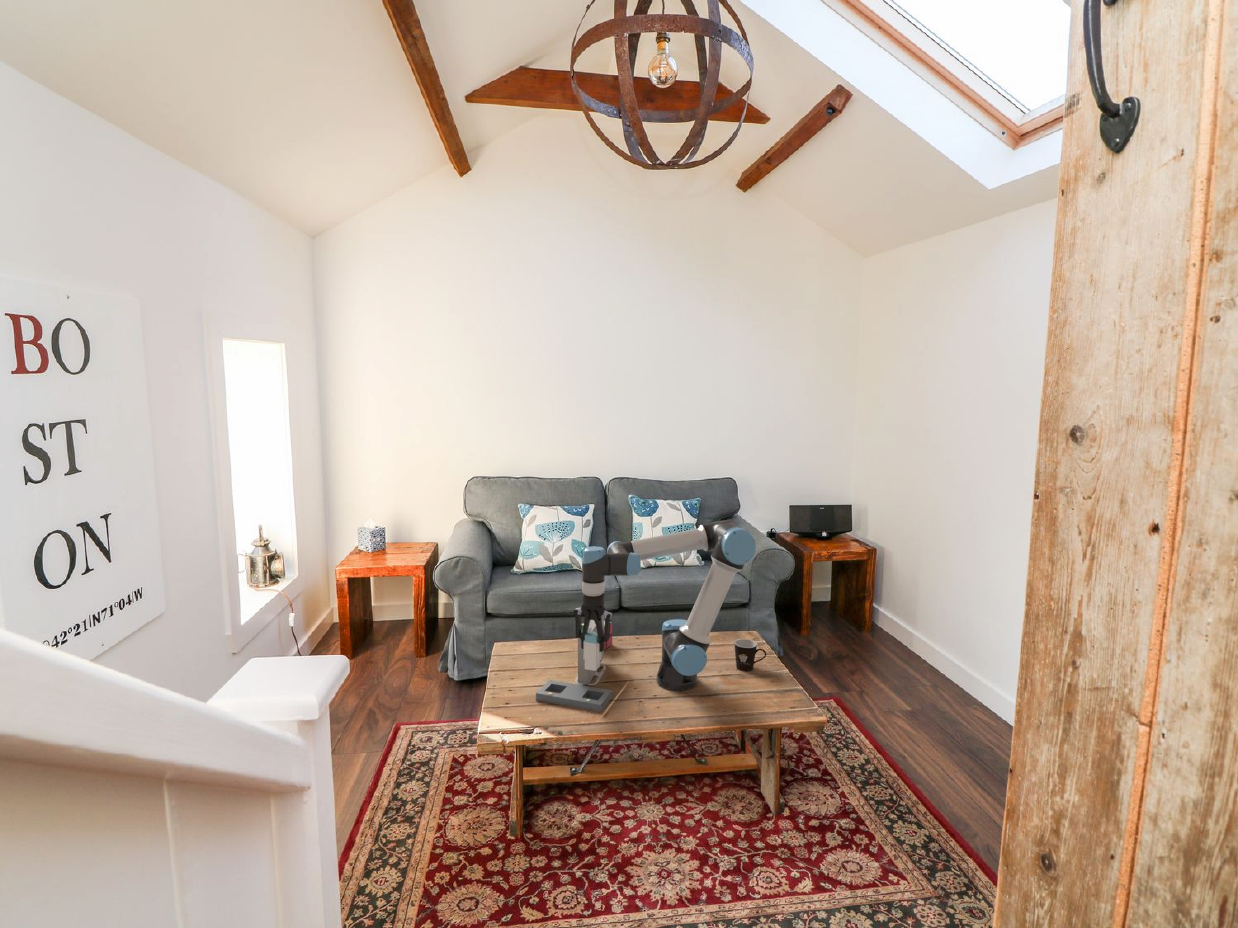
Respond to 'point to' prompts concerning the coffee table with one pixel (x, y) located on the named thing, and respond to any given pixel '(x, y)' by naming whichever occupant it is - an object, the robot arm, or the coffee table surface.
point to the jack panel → (574, 695)
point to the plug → (591, 651)
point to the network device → (584, 674)
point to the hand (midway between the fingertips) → (592, 658)
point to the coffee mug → (746, 654)
